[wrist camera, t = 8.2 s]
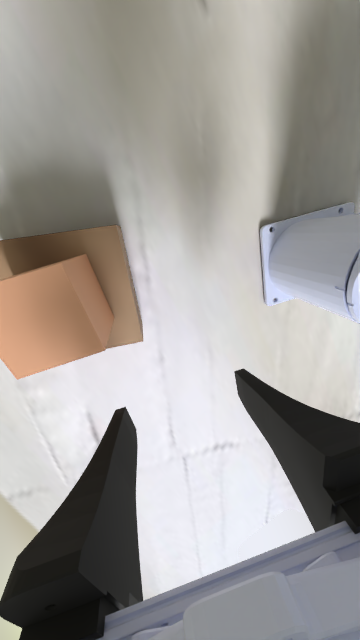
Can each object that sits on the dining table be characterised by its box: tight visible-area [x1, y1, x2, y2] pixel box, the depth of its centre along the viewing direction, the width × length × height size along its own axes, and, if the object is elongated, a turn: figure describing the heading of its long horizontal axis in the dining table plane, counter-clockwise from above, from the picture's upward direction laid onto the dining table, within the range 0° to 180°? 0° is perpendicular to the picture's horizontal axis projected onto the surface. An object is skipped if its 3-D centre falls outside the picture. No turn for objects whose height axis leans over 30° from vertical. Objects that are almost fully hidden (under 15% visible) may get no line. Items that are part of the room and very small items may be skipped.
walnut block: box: [0, 225, 143, 349], centre depth 17 cm, size 9×9×4 cm
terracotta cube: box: [0, 254, 114, 379], centre depth 13 cm, size 5×5×5 cm
